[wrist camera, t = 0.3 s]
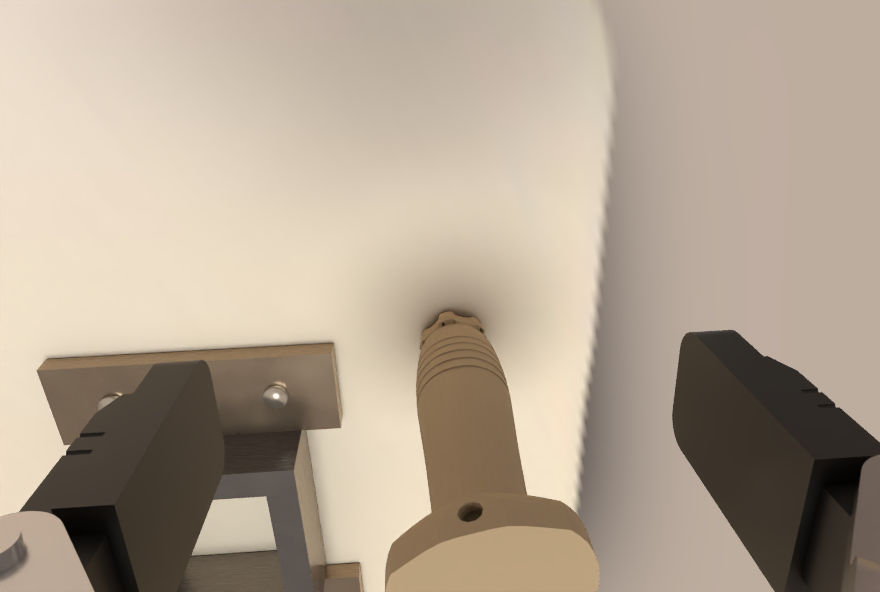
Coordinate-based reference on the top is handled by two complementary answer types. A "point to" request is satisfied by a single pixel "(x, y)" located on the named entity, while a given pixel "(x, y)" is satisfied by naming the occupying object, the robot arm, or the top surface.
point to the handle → (481, 485)
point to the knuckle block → (238, 450)
